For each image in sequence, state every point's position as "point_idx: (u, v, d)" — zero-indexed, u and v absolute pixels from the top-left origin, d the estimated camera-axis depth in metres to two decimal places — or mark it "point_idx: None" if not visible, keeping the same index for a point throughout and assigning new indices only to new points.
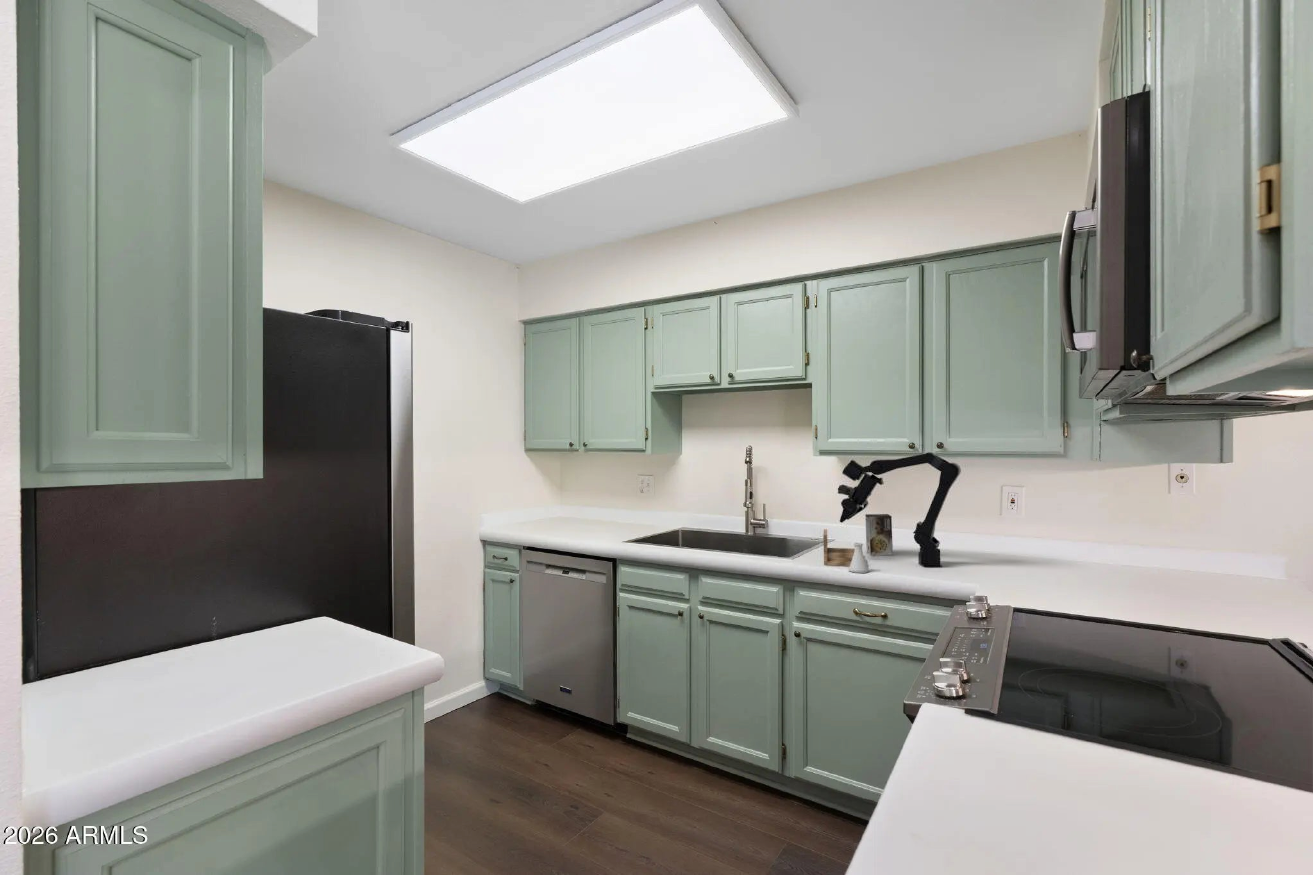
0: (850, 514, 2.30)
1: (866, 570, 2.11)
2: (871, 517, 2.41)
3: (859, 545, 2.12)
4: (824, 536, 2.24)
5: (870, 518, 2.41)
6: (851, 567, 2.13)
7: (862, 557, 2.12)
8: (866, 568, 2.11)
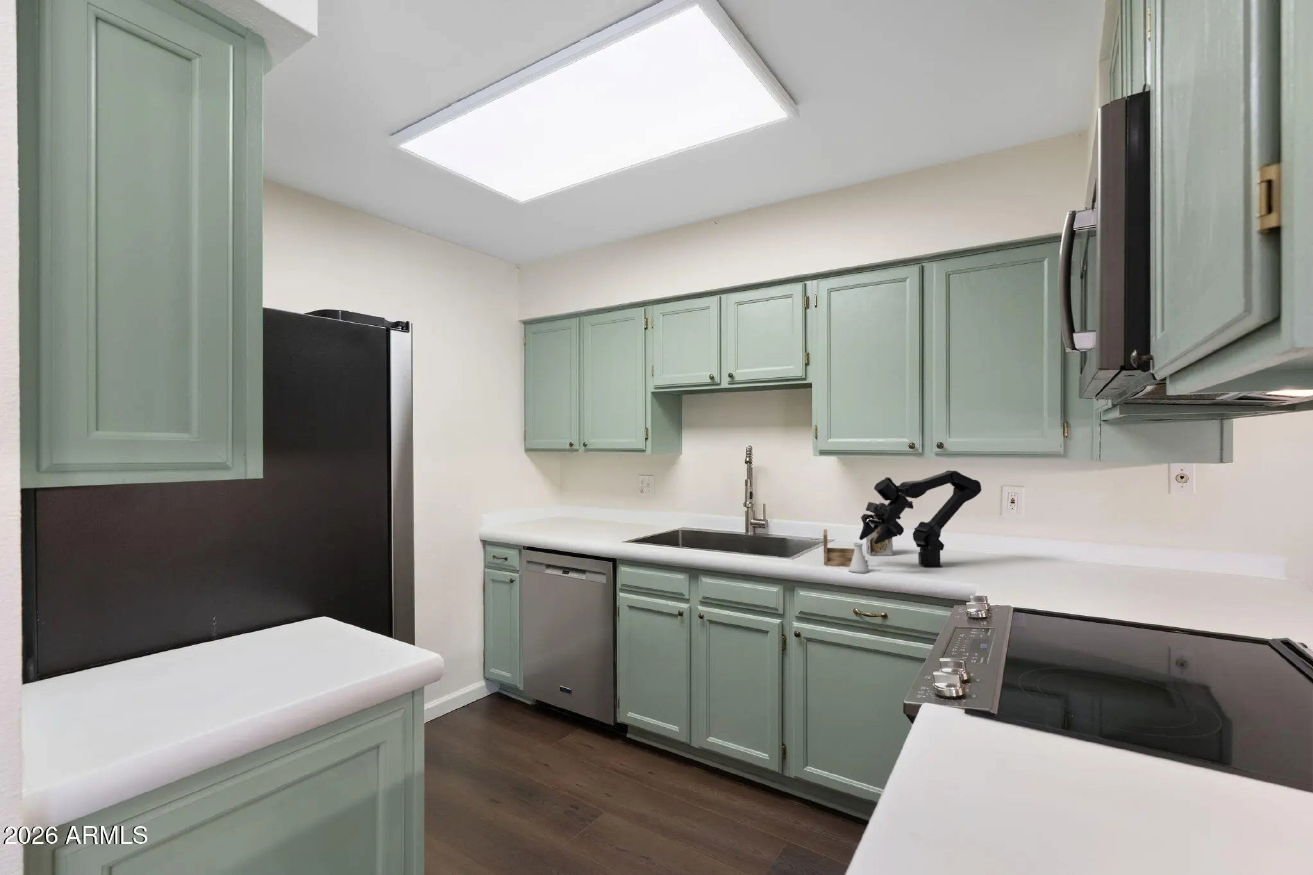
0: (890, 536, 2.10)
1: (866, 570, 2.11)
2: None
3: (859, 545, 2.12)
4: (824, 536, 2.24)
5: None
6: (851, 567, 2.13)
7: (862, 557, 2.12)
8: (866, 568, 2.11)
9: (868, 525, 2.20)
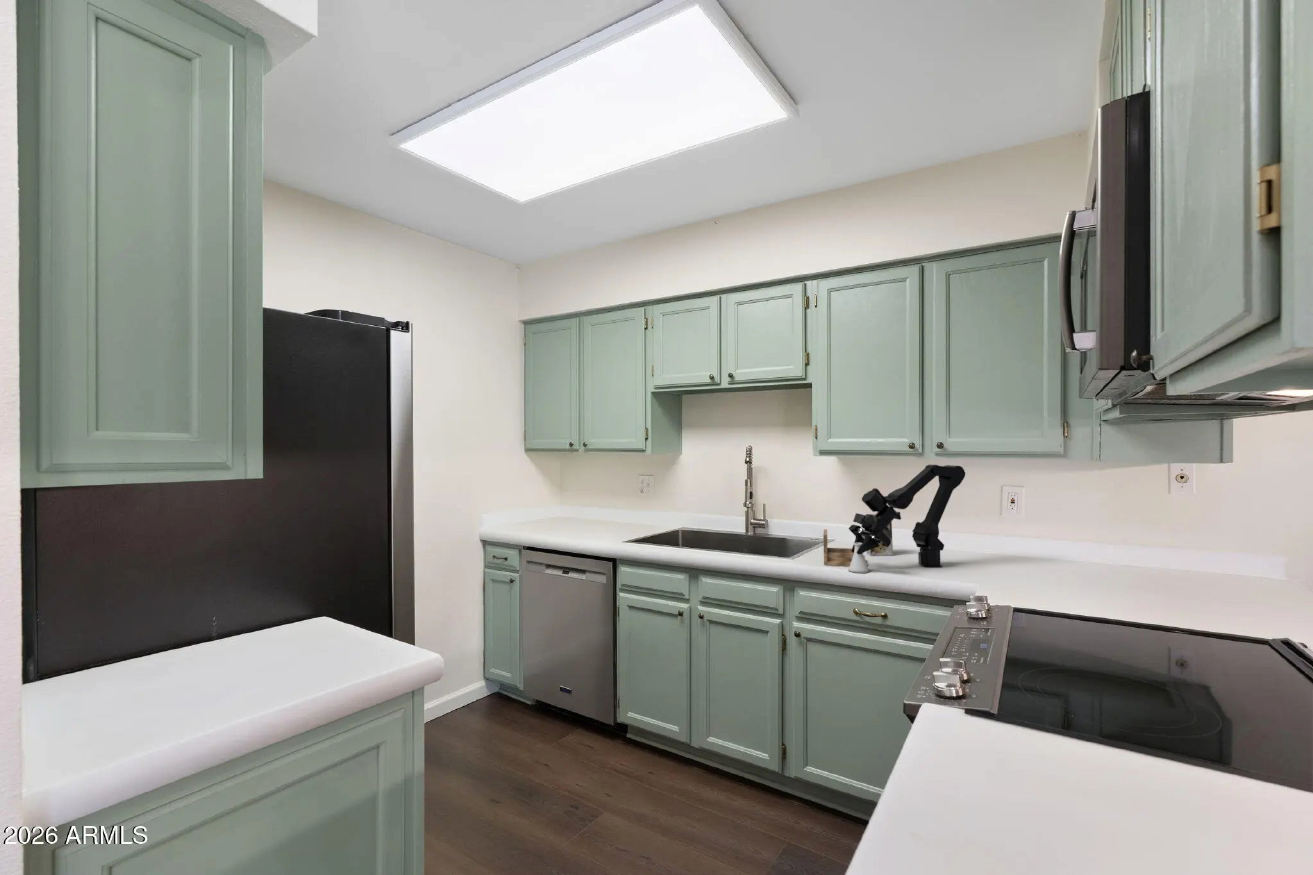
0: (872, 547, 2.11)
1: (866, 570, 2.11)
2: None
3: (859, 545, 2.12)
4: (824, 536, 2.24)
5: None
6: (851, 567, 2.13)
7: (862, 556, 2.12)
8: (866, 568, 2.11)
9: (860, 537, 2.16)
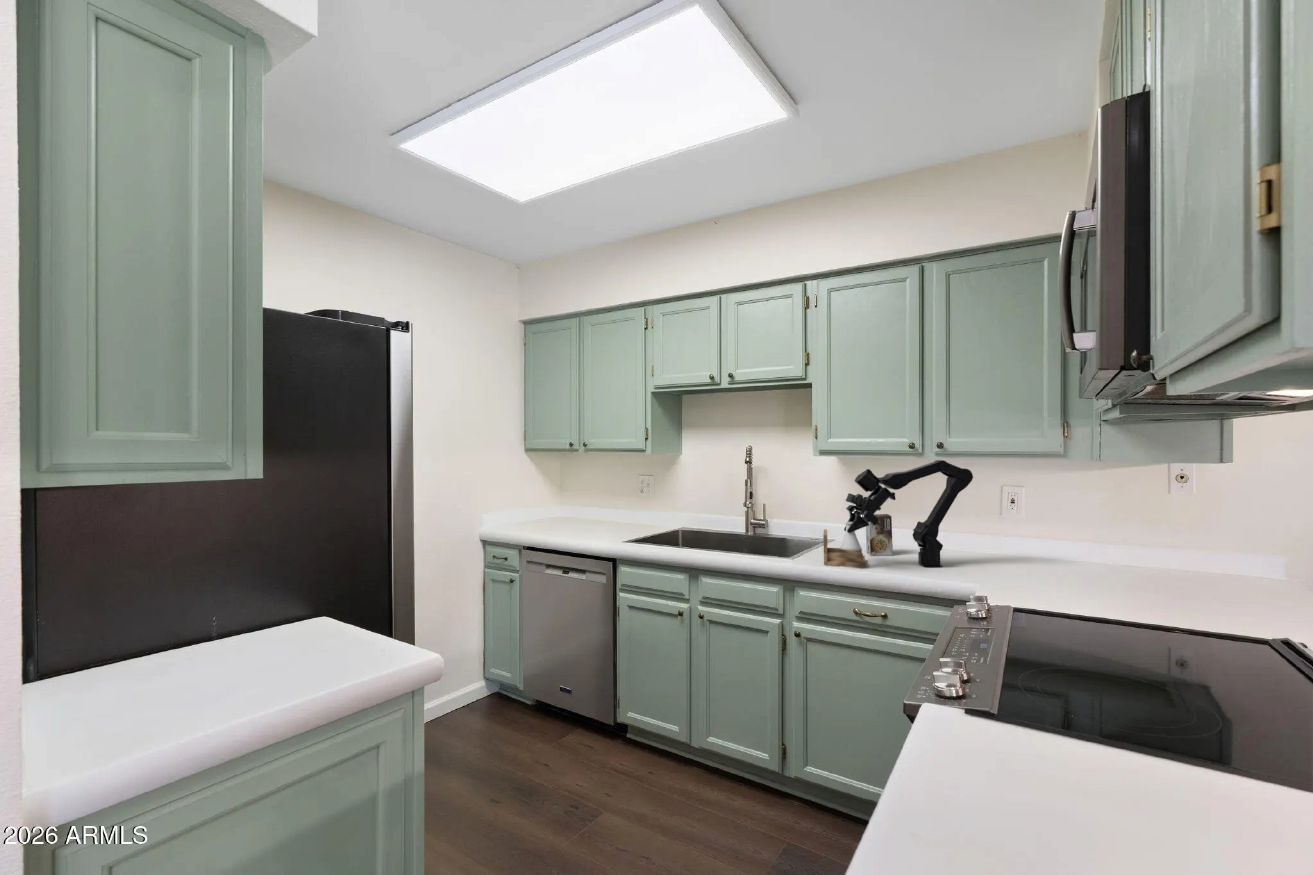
0: (862, 526, 2.17)
1: (856, 548, 2.17)
2: None
3: (850, 524, 2.19)
4: (824, 536, 2.24)
5: None
6: (842, 545, 2.20)
7: (853, 535, 2.19)
8: (856, 546, 2.18)
9: (854, 517, 2.22)
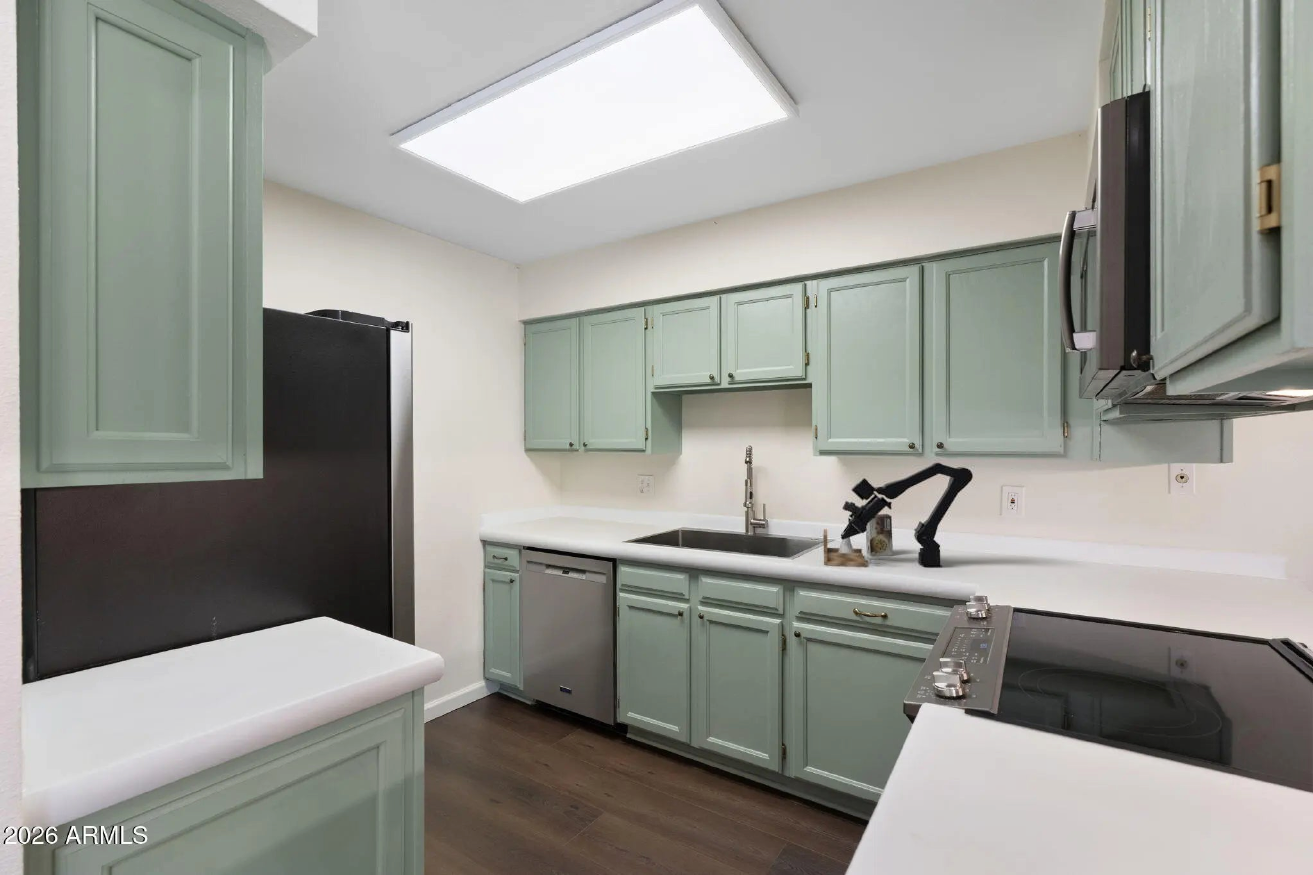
0: (855, 533, 2.24)
1: None
2: None
3: None
4: (824, 536, 2.24)
5: None
6: None
7: (848, 545, 2.27)
8: None
9: None
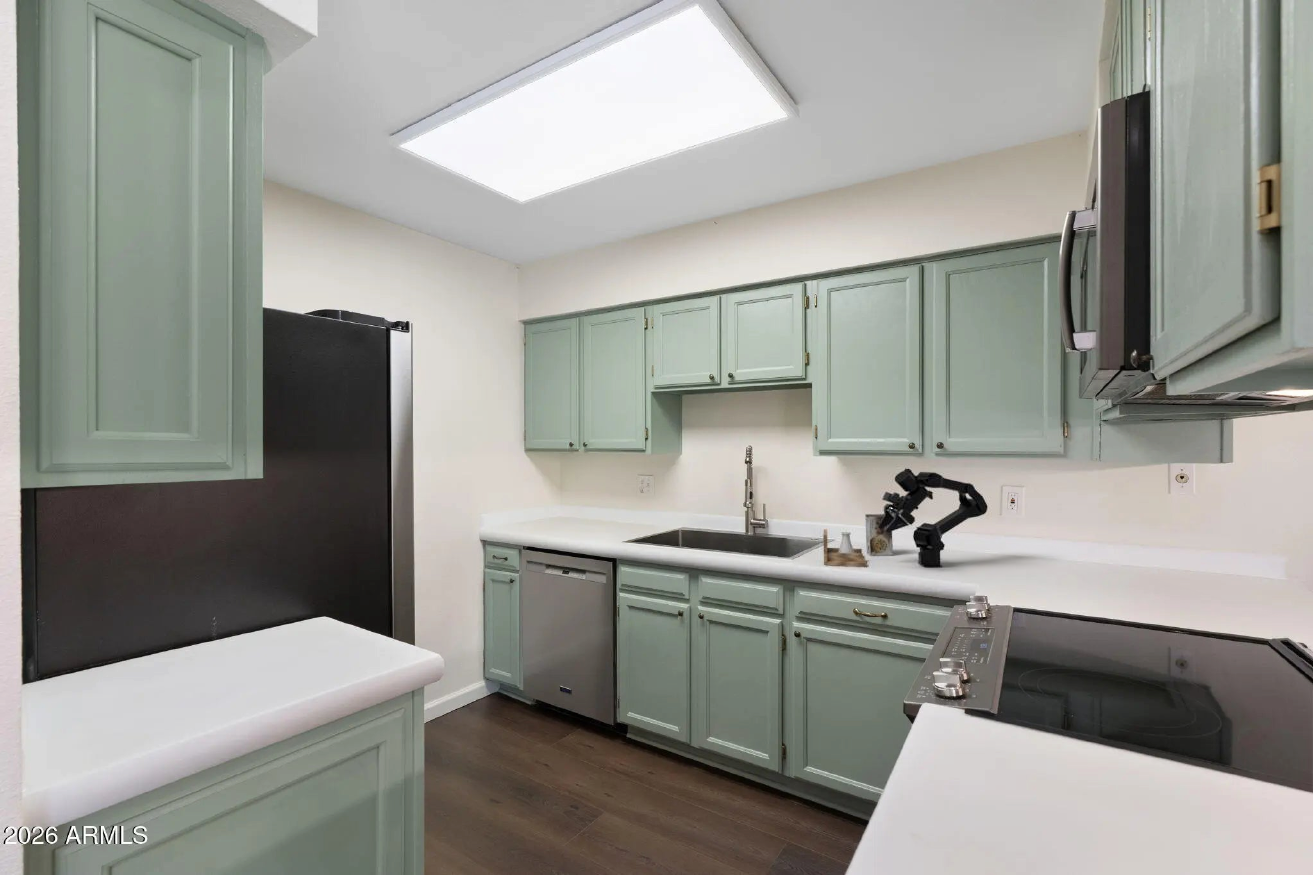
0: (901, 525, 2.13)
1: None
2: (871, 517, 2.41)
3: (844, 534, 2.28)
4: (824, 536, 2.24)
5: (870, 518, 2.41)
6: None
7: (848, 545, 2.27)
8: None
9: (888, 514, 2.25)
